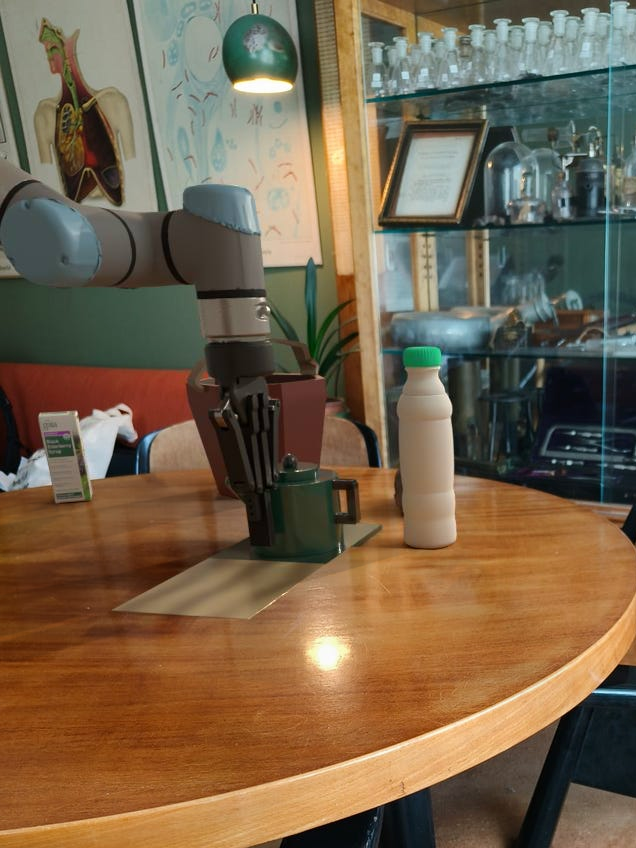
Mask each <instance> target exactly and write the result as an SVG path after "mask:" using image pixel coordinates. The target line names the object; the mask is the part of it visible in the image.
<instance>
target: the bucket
mask: <svg viewBox="0 0 636 848" xmlns="http://www.w3.org/2000/svg"><path fill="white" fill-rule="evenodd" d="M266 341H270V343H274V344H275V343H276V344H282V345H286V346H291V347H292V348H293V351H294V355H295V358H296V360H297V361H298V363H299V364H300V365H299V366H300V371H299V373H274V374H272V375H269V376H265V380H266V384H267V386H268V391H269V394H268V395H269V397H270V398H271V399H279V400H280V403H281V406H280V412H279V418H278V464H280V463H282V459H283V457H284V456H285V455H288V454H291V455H294V456H295V457H296V458H297V461H298V462H306V463H314V464H317V465H318V468H321V467H320V466H321V457H322V448H323V436H324V427H325V416H326V406H327V396H328V395H327V387H326V385H327V384H326V378H325V377H323V376H321V375H319V371H320V364H319V363H318V362H317V361H316V359H314V358H312V357H311V353H310V349H309V347H308V344H307V343H304V342H300V341H296V340H290V339H284V338H283V339H282V338H270V337H266ZM206 372H207V367H206V360H205V357H203V358H201V359H199V360H198V361H197V362H196V363H195V365H194V367H193V368H192V369H191V370H190V373H189V374H188V376H187V378H186V381H187V382H185V389H186V396H187V397H186V398H187V402H188V406H189V408H190V411H191V414H192V417H193V420H194V423H195V427H196V429H197V432H198V435H199V438H200V440H201V443H202V444H201V445H202V447H203V450H204V453H205V455H206V458H207V461H208V465H209V467H210V471H211V473H212V476H213V479H214V482H215V485H216V488H217V491H218V493H219V494H220V495H223V496H226V497H227V496H228V497H231V498H234V499H238V500H240V499H239V498H238V497H237V496H236V495H235V494H234V493H233V492H232V491H231V490H230V489H229V488H228V487H227V486H226V483H225V480H226V478H227V477H228V474H227V471H226V467H225V463H224V460H223V456H222V452H221V449H220V445H219V442H218V438H217V434H216V431H215V429H214V427H213V425H212V423H211V421H210V419H209V417H208V412H209V410H210V409H217V408H218V406H219V404H220V400H219V396H218V393H219V380H218V379H217V378H211V377H210V376H209V377H207V378H202V377H203V375H204V374H205V373H206Z"/></svg>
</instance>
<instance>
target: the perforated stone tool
mask: <svg viewBox="0 0 636 848" xmlns="http://www.w3.org/2000/svg"><path fill="white" fill-rule="evenodd" d="M393 488H394V494H393V499H394V502H395V504H396V507H398V509H399V510H400V511H401V512H403V507H402V493H403V486H402V479H401V470H400V467H399V468H398V469H397V470H396V472H395V475H394V481H393Z"/></svg>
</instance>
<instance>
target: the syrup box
mask: <svg viewBox="0 0 636 848" xmlns="http://www.w3.org/2000/svg"><path fill="white" fill-rule="evenodd" d="M37 419H38V425H39V430H40V434H41V435H40V436H41V438H42V444H43V448H44V453H45V458H46V463H47V468H48V472H49V477H50V482H51V486H52V493H53V498H54V503H55V504H56V505H57V504H62V503H63V504H64V503H74V502H75V503H77V502H84V501H87V502H88V501H89V502H90V501H92V498H93V493H94V492H93V487H92V482H91V477H90V472H89V467H88V462H87V461H88V460H87V456H86V449H85V445H84V441H83V435H82V429H81V423H80V418H79V413H78V410H67V411H50V412H48V411H47V412H39V414H38V417H37Z"/></svg>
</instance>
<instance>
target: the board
mask: <svg viewBox="0 0 636 848" xmlns="http://www.w3.org/2000/svg"><path fill="white" fill-rule="evenodd" d="M382 530H383V524H382V523H363V522H362V523H360V522H359V523H357V524H356V525H352V524H343V535H344V543H343V545H342V546H340V547H339V548H337V549H334V550H332V551H329V552H325V553H321V554H316V555H309V556H300V557H271V556H265V555H260V554H257V553H255V552H253V551H252V549H251V544H250V537H249V536H247V537H245V538H243V539H242V540H239V541H238V542H236V543H234V544H232V545H231V546H228V547H226V548H225V549H223V550H221V551H219V552H217V553H215V554H214V555H212V556H210V557H208V558H206V559H204V560H203V561H201V562H200V561H199V563H197V564H194V565H193V566H191V567H189V568H187V569H186V570H184V571H182V572H180V573H178V574H176V575H174V576H172V577H170V578H169V579H167V580H165V581H163V582H161V583H159V584H157V585H156V586H154V587H152V588H150V589H148V590H146V591H144V592H143V593H141V594H139V595H137V596H135V597H133V598H131V599H129V600H127V601H126V602H124V603H122V604H120V605H118V606H117V607H114V608H113V609H111V611H112V612H113V611H114V612H126V613H127V612H128V613H140V614H141V613H142V614H156V615H173V616H185V617H186V616H187V617H200V618H201V617H202V618H217V619H231V620H245V621H246V620H247V621H249V620H250V619H251V618H252V617H254V616H256V615H257V614H259V613H260V612H261V611H263V610H264V609H266V608H267V607H269V605H271V604H272V603H274V602H276V601H277V600H278V599H279V598H281V597H282V596H284V595H285V594H287V593H288V592H289V591H291V590H292V589H294V588H295V587H296V586H298V585H299V584H300V583H302V582H303V581H305V580H306V579H308V578H309V577H311V576H312V575H313V574H315V573H316V572H317V571H319V570H320V569H322V568H323V567H324V566H326V565H327V564H328V563H330V562H331V561H333V560H335V558H337V557H339V556H340V555H341V554H343V553H344V552H345V551H347V550H348V549H350V548H359V547H360V546H362V545H363V544H364V543H365V542H367V541H368V540H370V539H371V538H373V537H374V536H376V535H377V534H379V533H380V532H381V531H382Z"/></svg>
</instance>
